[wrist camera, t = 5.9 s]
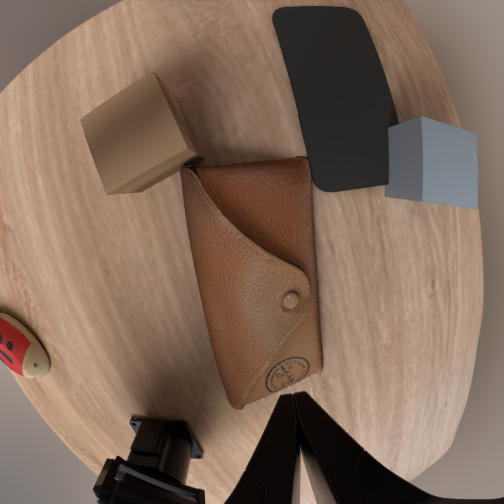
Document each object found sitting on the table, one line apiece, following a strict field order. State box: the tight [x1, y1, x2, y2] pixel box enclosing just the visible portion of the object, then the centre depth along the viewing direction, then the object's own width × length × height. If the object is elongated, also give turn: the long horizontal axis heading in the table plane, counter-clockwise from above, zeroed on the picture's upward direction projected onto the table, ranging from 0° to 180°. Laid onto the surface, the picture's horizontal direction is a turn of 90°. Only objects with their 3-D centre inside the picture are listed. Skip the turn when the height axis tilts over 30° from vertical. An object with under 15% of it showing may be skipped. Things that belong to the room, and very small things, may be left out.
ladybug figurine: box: [0, 313, 50, 379], centre depth 20 cm, size 7×10×4 cm
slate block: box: [385, 116, 478, 209], centre depth 15 cm, size 5×5×5 cm
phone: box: [272, 6, 399, 192], centre depth 16 cm, size 7×1×15 cm
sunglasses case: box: [180, 156, 323, 410], centre depth 18 cm, size 18×7×7 cm
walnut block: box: [80, 72, 205, 195], centre depth 15 cm, size 5×5×5 cm
